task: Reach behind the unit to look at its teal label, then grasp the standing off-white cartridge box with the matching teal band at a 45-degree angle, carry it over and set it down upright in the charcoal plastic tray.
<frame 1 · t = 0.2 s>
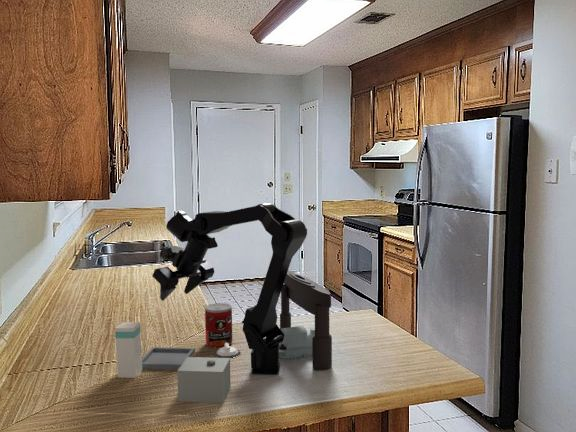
hand: (173, 296, 145), 15 cm above the worktop, tool tilted 30°, fingers open, 9 cm apart
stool: (304, 353, 141), on the worktop
cartridge: (130, 374, 127), on the worktop
unit: (205, 394, 116), on the worktop
canned food: (219, 344, 149), on the worktop
stove knob: (227, 356, 141), on the worktop
tray: (166, 361, 136), on the worktop
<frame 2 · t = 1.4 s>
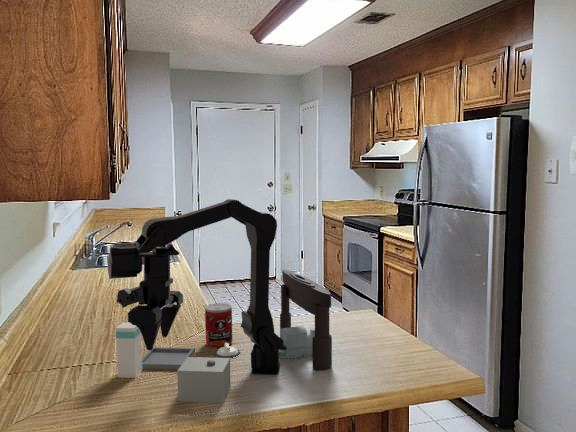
hand: (157, 343, 117), 11 cm above the worktop, tool pointing down, fingers open, 9 cm apart
nothing on the worktop moved.
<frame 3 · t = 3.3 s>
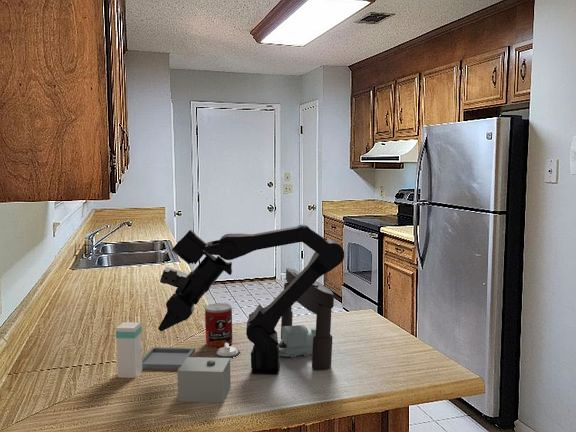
hand: (163, 324, 127), 12 cm above the worktop, tool tilted 40°, fingers open, 9 cm apart
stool: (304, 353, 141), on the worktop, touching arm
everything else where it was.
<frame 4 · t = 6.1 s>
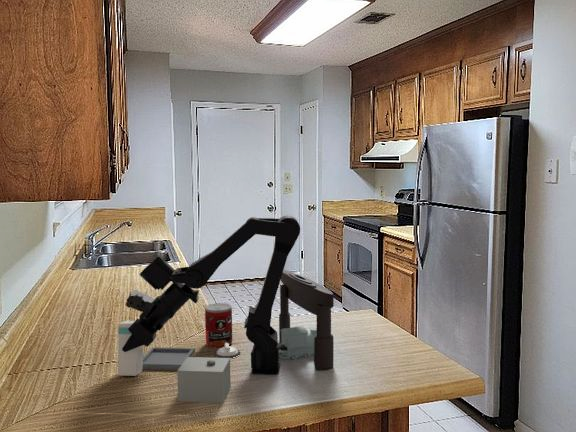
hand: (126, 346, 128), 7 cm above the worktop, tool tilted 45°, fingers closed on cartridge, 5 cm apart
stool: (304, 354, 141), on the worktop
cartridge: (130, 373, 127), on the worktop, tilted 8°, touching gripper
everything else where it was.
when the fingers open (9 cm above the worktop, at t = 9.2 s): cartridge drops 2 cm, resting on tray.
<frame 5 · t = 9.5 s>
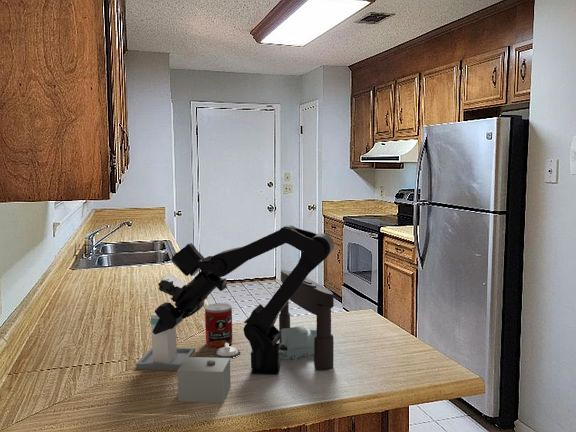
hand: (160, 328, 135), 9 cm above the worktop, tool tilted 45°, fingers open, 7 cm apart
cartridge: (165, 359, 135), point 1 cm above the worktop, touching tray
everything else where it was.
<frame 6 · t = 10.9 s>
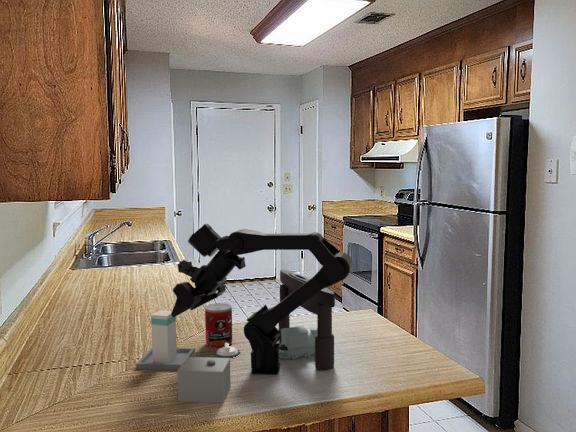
hand: (181, 312, 134), 13 cm above the worktop, tool tilted 40°, fingers open, 9 cm apart
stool: (304, 353, 141), on the worktop, touching arm
everything else where it was.
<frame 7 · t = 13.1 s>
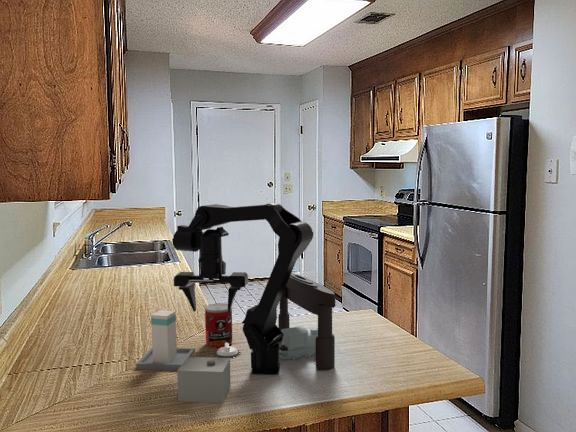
hand: (212, 311, 136), 13 cm above the worktop, tool pointing down, fingers open, 9 cm apart
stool: (305, 354, 141), on the worktop
everything else where it was.
at the end: cartridge inside the target area on the tray (0.6 cm from its centre), point 0.6 cm above the tray's base; cartridge tilted 0°; the gripper is holding nothing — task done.
